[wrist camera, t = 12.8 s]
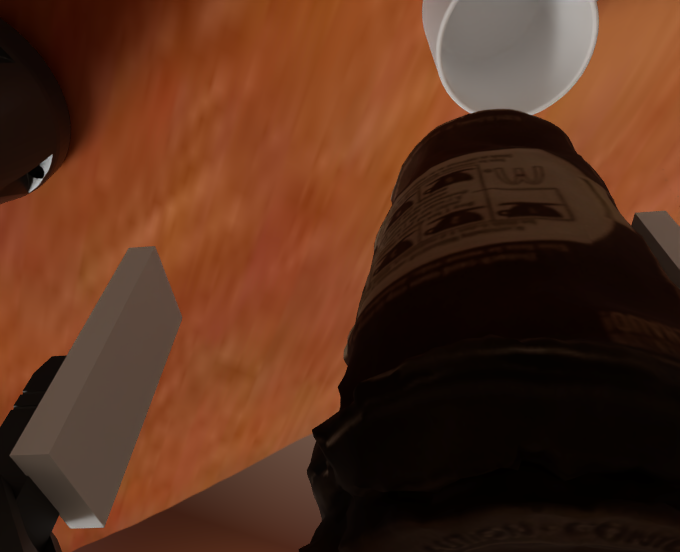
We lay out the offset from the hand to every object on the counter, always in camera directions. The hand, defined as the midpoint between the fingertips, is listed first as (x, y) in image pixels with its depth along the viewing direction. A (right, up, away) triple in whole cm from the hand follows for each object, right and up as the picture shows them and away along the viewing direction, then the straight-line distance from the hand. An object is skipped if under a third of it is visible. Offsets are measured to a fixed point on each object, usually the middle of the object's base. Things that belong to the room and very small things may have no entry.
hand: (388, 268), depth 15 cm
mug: (+10, +19, +20) cm, 30 cm away
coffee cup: (+3, +3, +3) cm, 5 cm away
